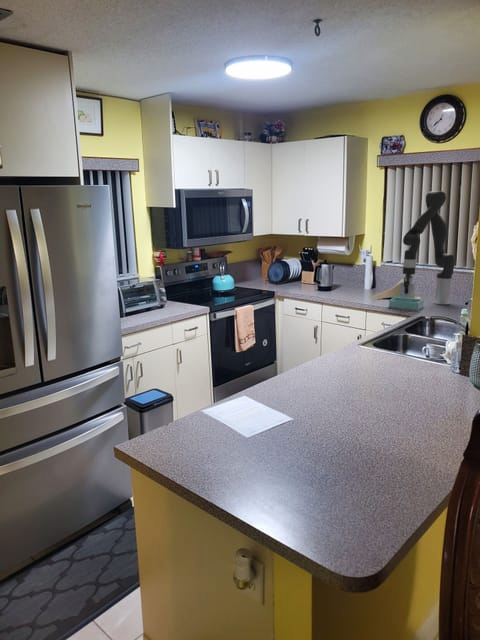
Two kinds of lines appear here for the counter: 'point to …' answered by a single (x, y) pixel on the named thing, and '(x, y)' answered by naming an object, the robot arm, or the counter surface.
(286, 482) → the counter surface
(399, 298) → the tote
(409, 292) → the medicine box
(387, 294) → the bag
